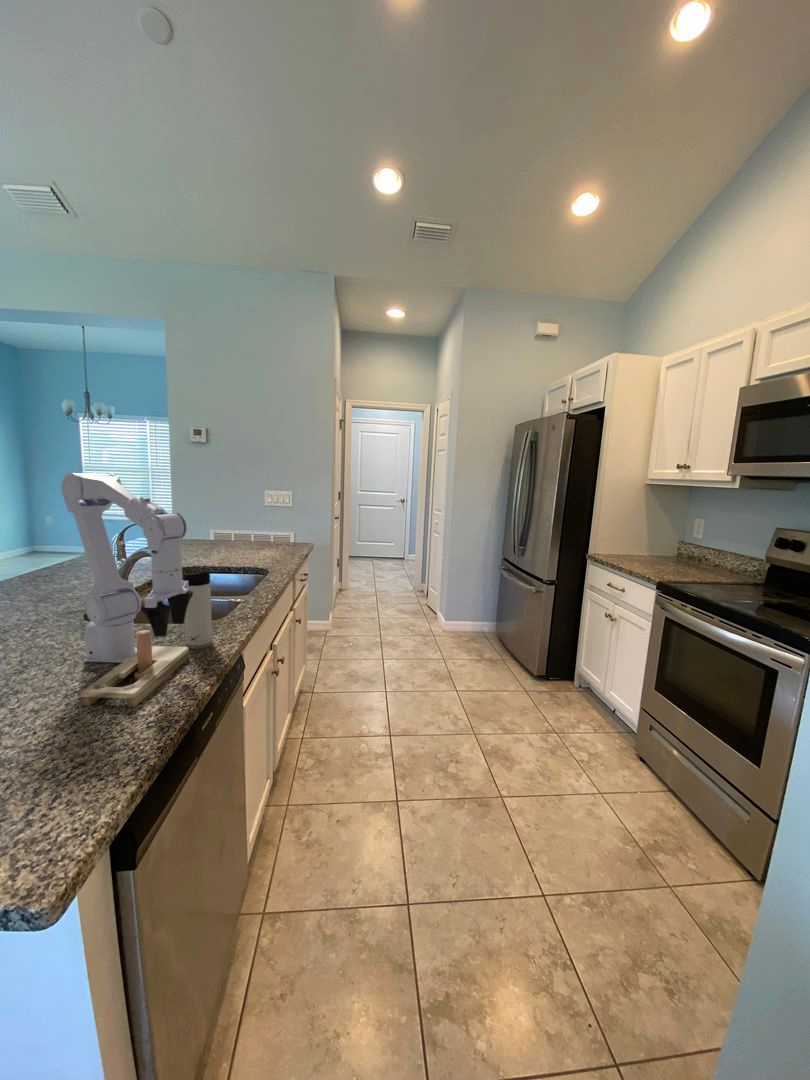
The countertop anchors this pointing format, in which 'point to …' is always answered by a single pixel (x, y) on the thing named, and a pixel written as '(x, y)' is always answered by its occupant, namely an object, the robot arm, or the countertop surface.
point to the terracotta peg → (143, 652)
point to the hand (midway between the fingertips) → (169, 629)
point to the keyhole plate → (162, 667)
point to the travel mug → (198, 610)
